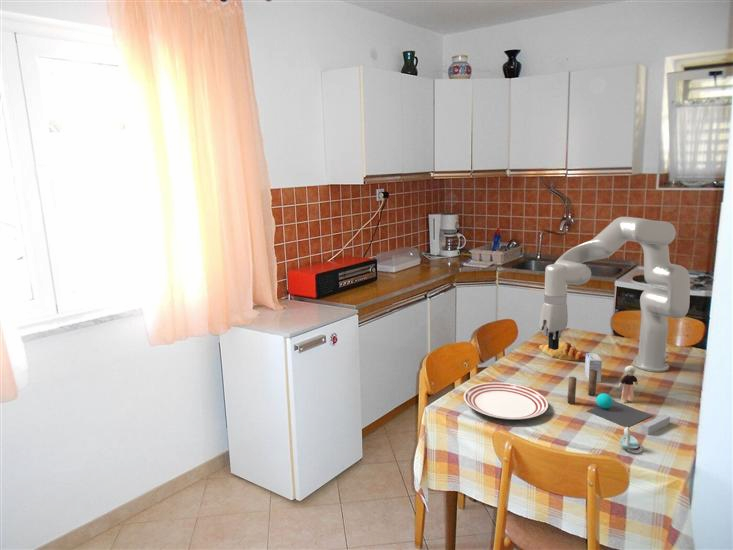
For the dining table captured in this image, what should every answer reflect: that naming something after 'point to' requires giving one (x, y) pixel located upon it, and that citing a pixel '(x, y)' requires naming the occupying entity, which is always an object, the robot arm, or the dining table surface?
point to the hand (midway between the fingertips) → (553, 348)
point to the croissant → (563, 352)
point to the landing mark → (620, 414)
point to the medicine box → (593, 365)
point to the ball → (604, 401)
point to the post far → (571, 390)
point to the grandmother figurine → (628, 385)
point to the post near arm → (592, 382)
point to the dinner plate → (505, 400)
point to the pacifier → (630, 442)
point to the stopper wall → (655, 424)
